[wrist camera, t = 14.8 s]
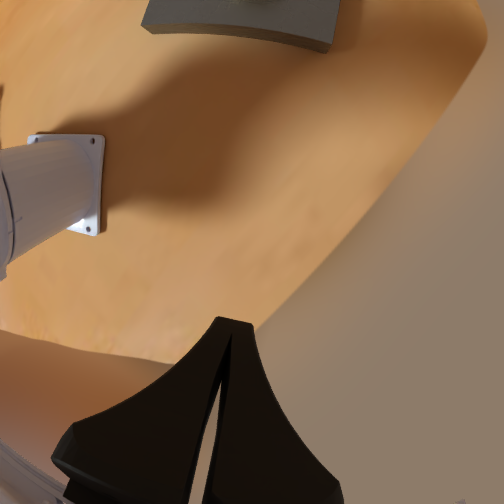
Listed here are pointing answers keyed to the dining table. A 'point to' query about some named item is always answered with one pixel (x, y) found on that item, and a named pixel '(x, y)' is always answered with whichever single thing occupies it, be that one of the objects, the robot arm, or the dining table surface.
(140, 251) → the dining table surface
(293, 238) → the dining table surface
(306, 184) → the dining table surface
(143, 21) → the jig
